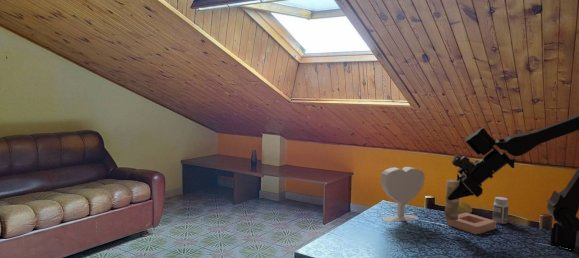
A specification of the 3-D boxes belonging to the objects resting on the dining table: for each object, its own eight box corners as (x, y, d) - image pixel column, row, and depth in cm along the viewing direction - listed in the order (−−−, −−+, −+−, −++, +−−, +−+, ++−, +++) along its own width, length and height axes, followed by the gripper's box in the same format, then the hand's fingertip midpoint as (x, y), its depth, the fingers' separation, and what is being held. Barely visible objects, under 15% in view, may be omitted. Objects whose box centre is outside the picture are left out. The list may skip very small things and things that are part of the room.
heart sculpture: (415, 214, 152) (417, 165, 150) (423, 218, 147) (426, 168, 145) (377, 217, 147) (379, 167, 145) (385, 222, 142) (387, 170, 140)
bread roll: (441, 210, 159) (442, 199, 159) (458, 207, 163) (459, 197, 162) (458, 216, 152) (459, 205, 151) (476, 213, 155) (476, 203, 155)
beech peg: (460, 218, 133) (463, 181, 132) (452, 221, 131) (455, 183, 129) (449, 215, 136) (451, 179, 135) (441, 217, 134) (444, 180, 133)
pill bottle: (503, 219, 148) (505, 196, 147) (509, 224, 144) (511, 200, 143) (490, 219, 149) (491, 196, 148) (495, 223, 144) (497, 199, 143)
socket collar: (495, 228, 138) (496, 221, 138) (476, 234, 132) (477, 226, 132) (465, 219, 148) (466, 212, 147) (446, 224, 141) (446, 217, 141)
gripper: (466, 142, 139) (429, 172, 143) (473, 150, 121) (430, 184, 125) (490, 168, 137) (452, 197, 142) (501, 179, 119) (457, 213, 124)
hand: (447, 197), depth 133 cm, fingers closed on beech peg, 4 cm apart
